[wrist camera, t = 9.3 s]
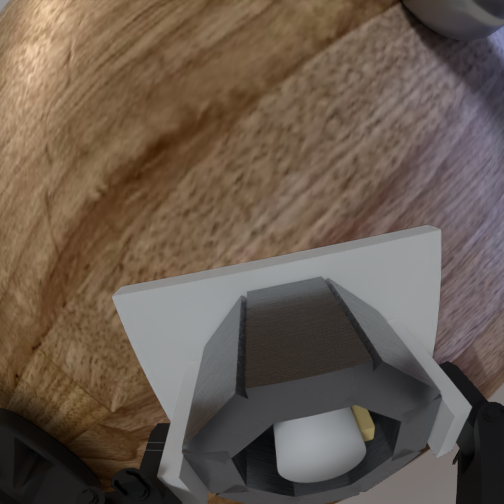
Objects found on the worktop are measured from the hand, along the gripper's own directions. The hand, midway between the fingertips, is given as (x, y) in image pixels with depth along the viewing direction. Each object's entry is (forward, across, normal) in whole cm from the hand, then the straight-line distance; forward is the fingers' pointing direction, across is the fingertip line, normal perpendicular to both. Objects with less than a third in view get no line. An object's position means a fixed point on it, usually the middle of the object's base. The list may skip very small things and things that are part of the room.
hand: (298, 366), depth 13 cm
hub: (0, 0, 0) cm, 0 cm away
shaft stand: (+2, 0, 0) cm, 2 cm away
